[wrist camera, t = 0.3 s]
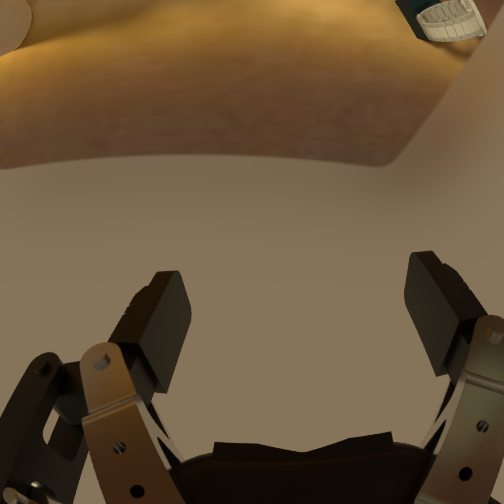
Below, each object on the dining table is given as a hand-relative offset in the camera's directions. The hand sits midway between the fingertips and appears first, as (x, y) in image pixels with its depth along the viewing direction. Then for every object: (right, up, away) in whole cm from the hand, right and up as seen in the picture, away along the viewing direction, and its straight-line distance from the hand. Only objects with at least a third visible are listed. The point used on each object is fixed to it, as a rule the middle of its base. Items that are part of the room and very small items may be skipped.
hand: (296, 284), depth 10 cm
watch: (+18, +30, +12) cm, 37 cm away
